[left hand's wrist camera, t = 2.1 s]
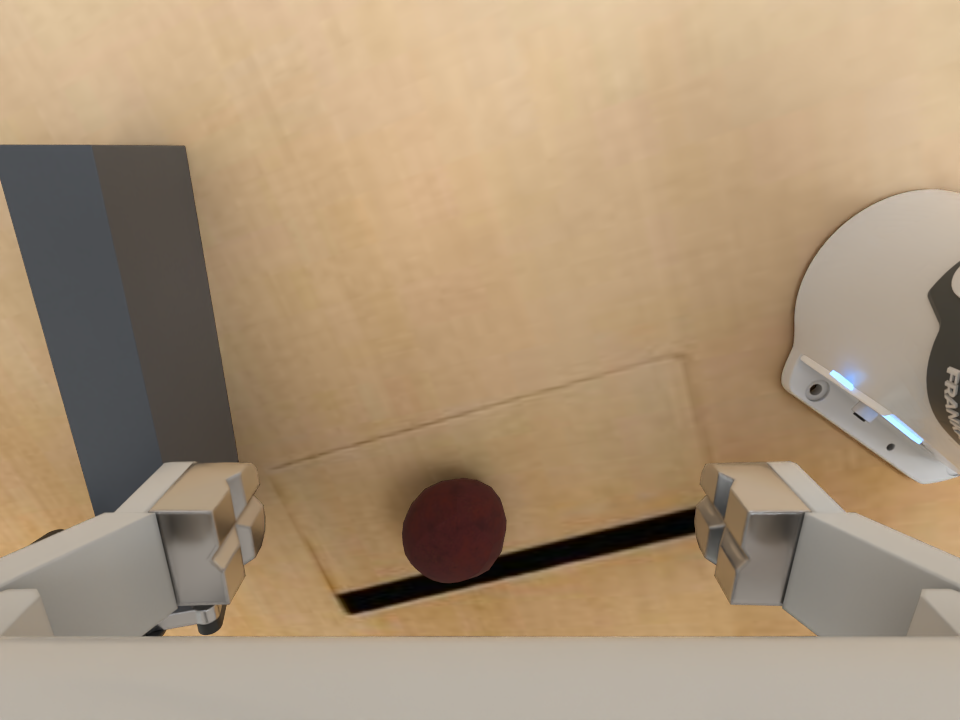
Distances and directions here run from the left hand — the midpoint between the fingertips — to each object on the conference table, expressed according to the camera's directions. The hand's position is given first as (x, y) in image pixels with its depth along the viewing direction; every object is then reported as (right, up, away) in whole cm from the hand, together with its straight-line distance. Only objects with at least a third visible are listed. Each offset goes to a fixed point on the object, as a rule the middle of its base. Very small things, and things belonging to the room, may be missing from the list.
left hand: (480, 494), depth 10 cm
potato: (-2, -9, +34) cm, 35 cm away
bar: (-21, +3, +30) cm, 36 cm away
